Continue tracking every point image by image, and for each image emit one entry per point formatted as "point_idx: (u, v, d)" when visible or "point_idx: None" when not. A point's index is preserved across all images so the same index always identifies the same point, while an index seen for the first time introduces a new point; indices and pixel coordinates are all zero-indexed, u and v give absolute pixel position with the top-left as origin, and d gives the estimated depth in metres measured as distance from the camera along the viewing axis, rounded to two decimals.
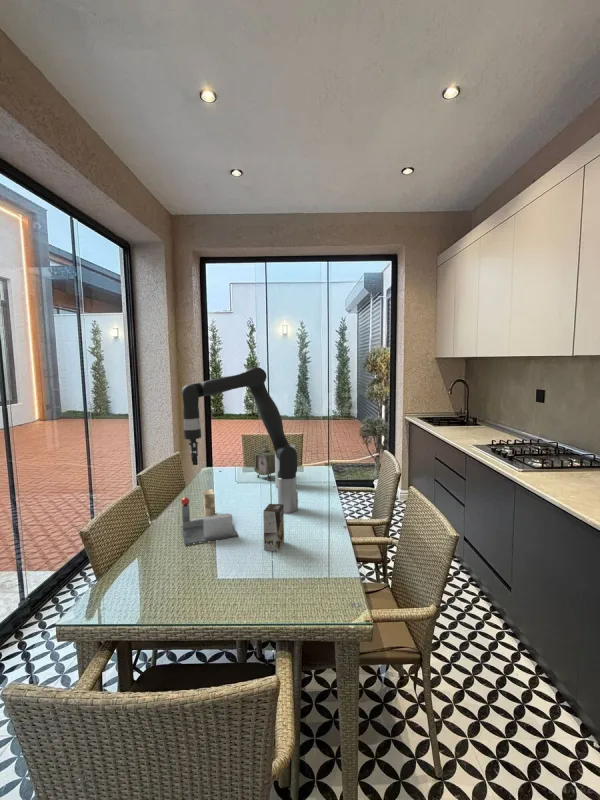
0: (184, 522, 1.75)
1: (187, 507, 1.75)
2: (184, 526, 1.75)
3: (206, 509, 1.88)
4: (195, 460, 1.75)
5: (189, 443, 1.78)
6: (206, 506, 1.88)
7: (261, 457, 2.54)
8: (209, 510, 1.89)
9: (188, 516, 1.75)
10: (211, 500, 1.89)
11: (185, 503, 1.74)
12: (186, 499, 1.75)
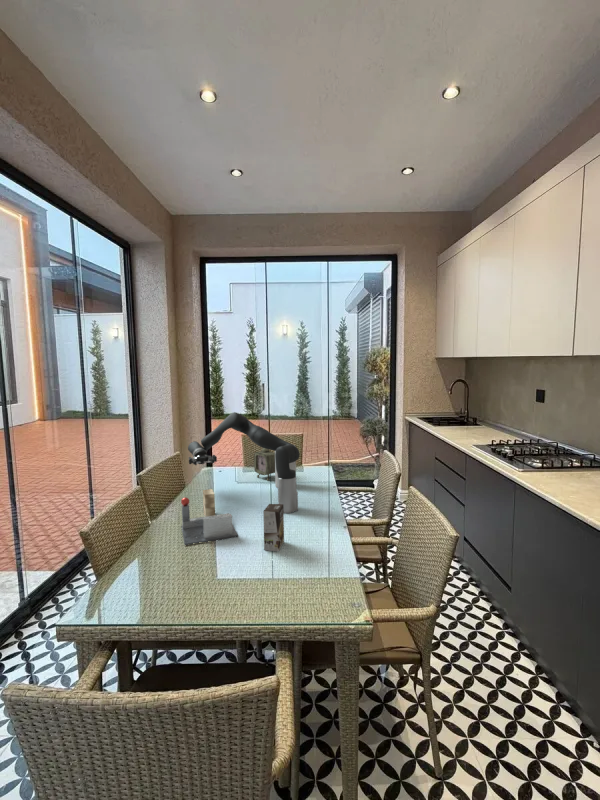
0: (184, 522, 1.75)
1: (187, 507, 1.75)
2: (184, 526, 1.75)
3: (206, 509, 1.88)
4: (193, 462, 2.01)
5: None
6: (206, 506, 1.88)
7: (261, 457, 2.54)
8: (209, 510, 1.89)
9: (188, 516, 1.75)
10: (211, 500, 1.89)
11: (185, 503, 1.74)
12: (186, 499, 1.75)
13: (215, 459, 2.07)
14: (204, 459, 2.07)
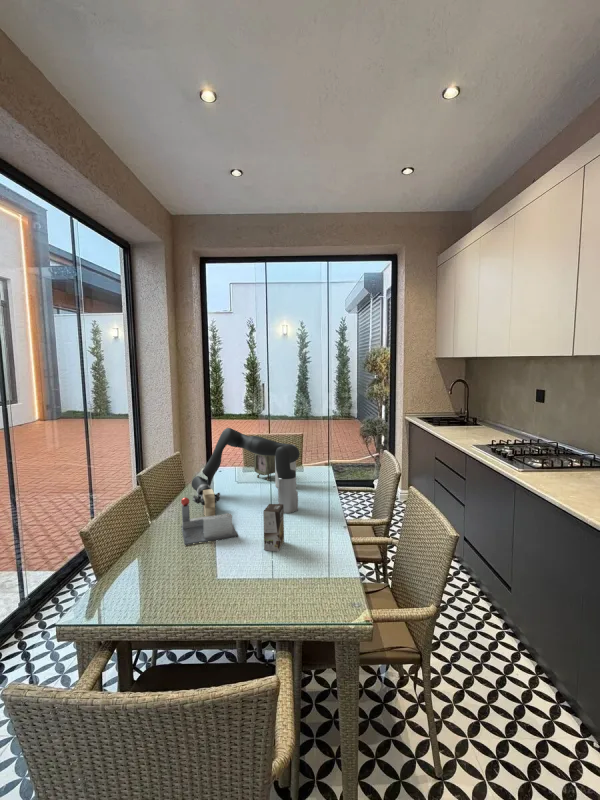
0: (184, 522, 1.75)
1: (187, 507, 1.75)
2: (184, 526, 1.75)
3: (206, 509, 1.88)
4: (201, 502, 1.92)
5: None
6: (206, 506, 1.88)
7: (261, 457, 2.54)
8: (209, 510, 1.89)
9: (188, 516, 1.75)
10: (211, 500, 1.89)
11: (185, 503, 1.74)
12: (186, 499, 1.75)
13: (217, 498, 1.97)
14: None
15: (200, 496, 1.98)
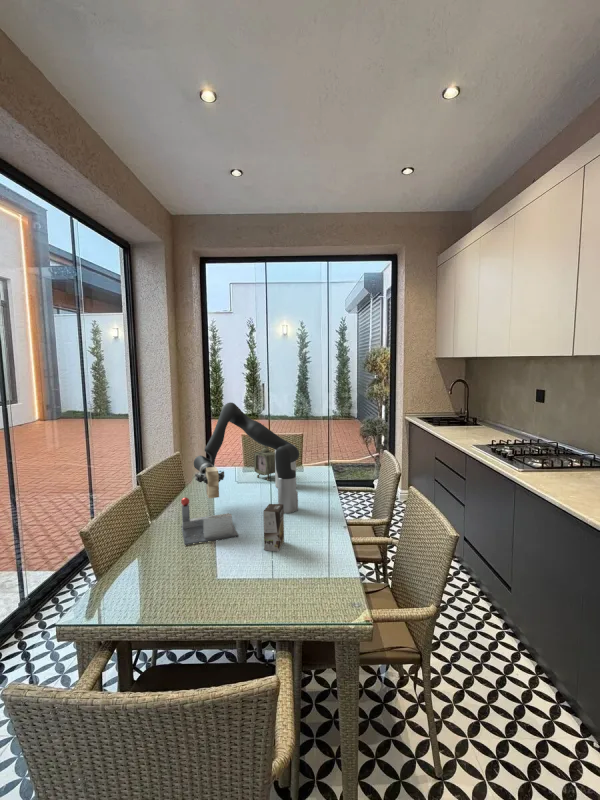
0: (184, 522, 1.75)
1: (187, 507, 1.75)
2: (184, 526, 1.75)
3: (209, 487, 1.73)
4: (204, 480, 1.77)
5: None
6: (209, 485, 1.73)
7: (261, 457, 2.54)
8: (212, 489, 1.74)
9: (188, 516, 1.75)
10: (215, 478, 1.74)
11: (185, 503, 1.74)
12: (186, 499, 1.75)
13: (221, 477, 1.81)
14: None
15: (203, 475, 1.83)
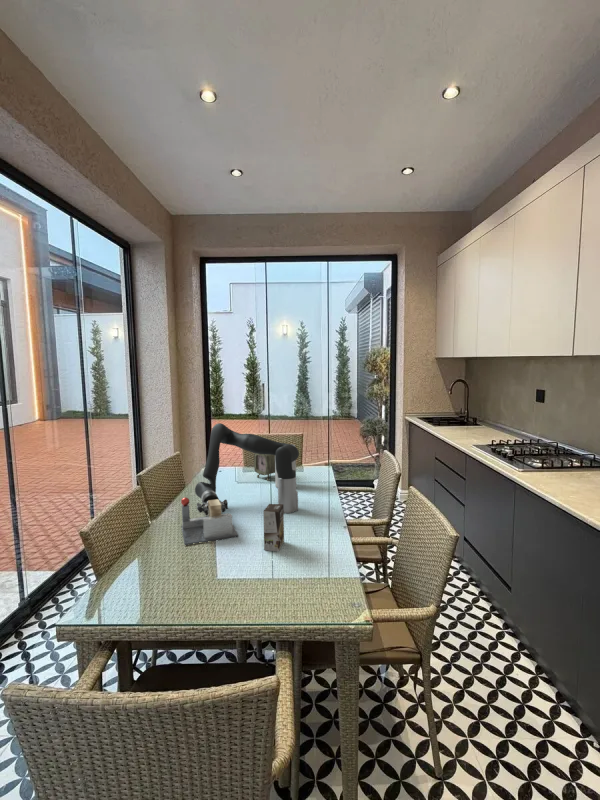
0: (184, 522, 1.75)
1: (187, 507, 1.75)
2: (184, 526, 1.75)
3: None
4: (204, 510, 1.73)
5: None
6: None
7: (261, 457, 2.54)
8: None
9: (188, 516, 1.75)
10: (218, 512, 1.70)
11: (185, 503, 1.74)
12: (186, 499, 1.75)
13: (226, 506, 1.78)
14: None
15: (204, 504, 1.79)
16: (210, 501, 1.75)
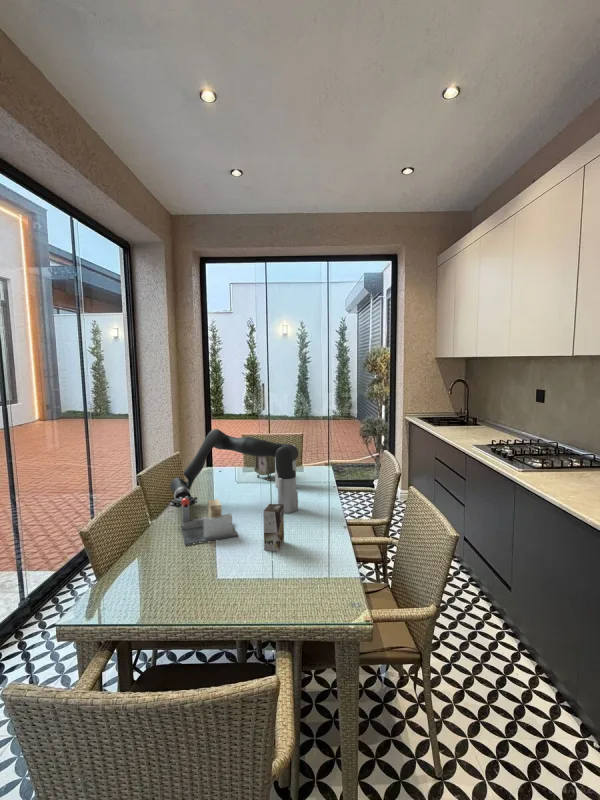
0: (184, 523, 1.74)
1: (187, 508, 1.74)
2: (184, 527, 1.74)
3: None
4: (181, 505, 1.78)
5: None
6: None
7: (261, 457, 2.54)
8: None
9: (188, 517, 1.74)
10: (218, 512, 1.70)
11: (185, 504, 1.73)
12: (186, 500, 1.74)
13: (189, 503, 1.82)
14: None
15: (178, 500, 1.84)
16: (210, 501, 1.75)
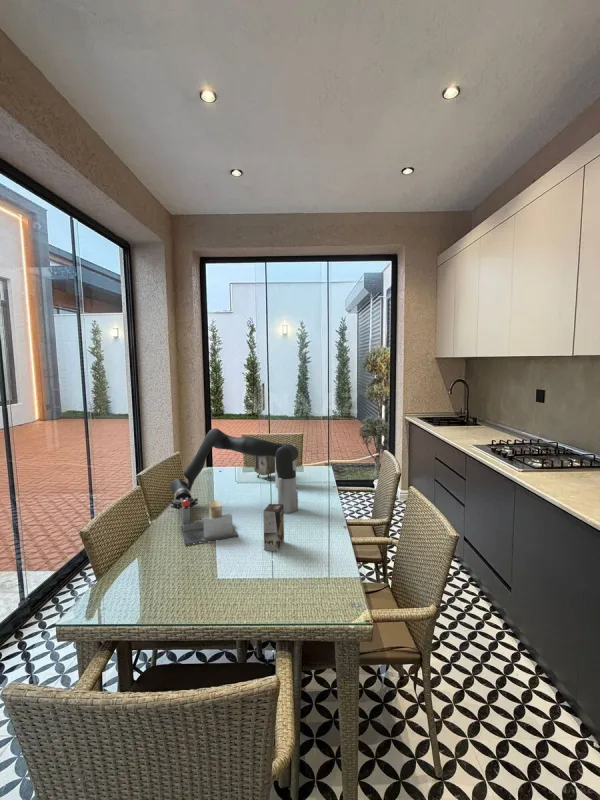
0: (185, 524, 1.72)
1: (188, 509, 1.72)
2: (185, 529, 1.72)
3: None
4: None
5: None
6: None
7: (261, 457, 2.54)
8: None
9: (189, 518, 1.72)
10: (218, 514, 1.69)
11: (186, 505, 1.71)
12: (187, 501, 1.72)
13: None
14: None
15: (178, 501, 1.82)
16: (211, 502, 1.73)
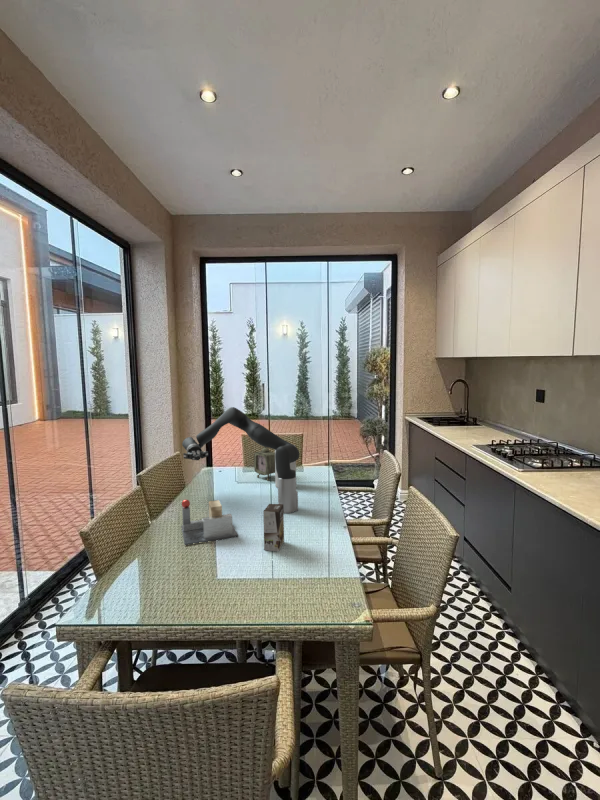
0: (185, 524, 1.72)
1: (188, 509, 1.72)
2: (185, 529, 1.72)
3: None
4: (194, 457, 1.96)
5: None
6: None
7: (261, 457, 2.54)
8: None
9: (189, 518, 1.72)
10: (218, 514, 1.69)
11: (186, 505, 1.71)
12: (187, 501, 1.72)
13: None
14: None
15: (190, 453, 2.02)
16: (211, 502, 1.73)
